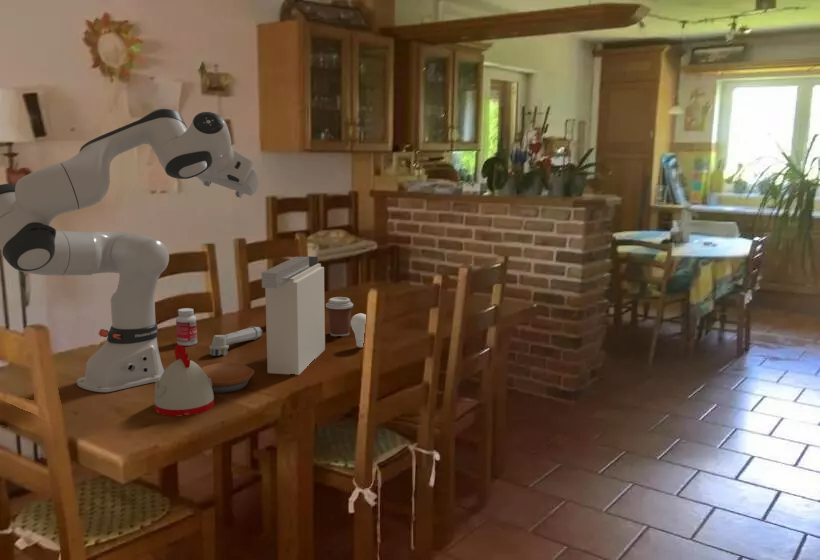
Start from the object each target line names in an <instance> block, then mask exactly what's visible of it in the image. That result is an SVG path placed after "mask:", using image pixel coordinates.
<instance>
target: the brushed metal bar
mask: <svg viewBox="0 0 820 560" xmlns="http://www.w3.org/2000/svg"><path fill="white" fill-rule="evenodd" d="M308 268H309V257H302V256H295V257H293V258H290V259H287V260H285V261H283V262H281V263H279V264H277V265H275V266H273V267H270V268H269V269H268V268H267V270H265V271H262V272H261V288H262V289H265V288H278V287H280V286H282V285H284V284H286V283H287V282H289V281H290V278H292V277H294V276H295V275H297V274H299V273H301V272H303V271H305V270H307V269H308Z"/></svg>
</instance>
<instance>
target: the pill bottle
mask: <svg viewBox="0 0 820 560" xmlns="http://www.w3.org/2000/svg"><path fill="white" fill-rule="evenodd" d="M177 314H178V316H177V318H176V319H175V324H176V325H175V328H176V343H177V345H180V346H183V347H185V346H187V347H188V346H194V345H196V344H197V343H198V329H197V326H198V325H197V317H196V315H194V308H189V307H186V308H185V307H184V308H179V309H177Z"/></svg>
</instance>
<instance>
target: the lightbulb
mask: <svg viewBox="0 0 820 560" xmlns="http://www.w3.org/2000/svg"><path fill="white" fill-rule="evenodd" d="M366 315H367V314H365V313H361V312H360V313H359V312H358V313H357V314H355V315H353V316H352V317H351V318H350V327H351V329H352V331H353V334H354V337H355V338H354V339H355V343H356V344H355V345H356V346H357V347H358V348H360V349H361V348H363V347H364V346H363V343H364V333H365V324H366Z"/></svg>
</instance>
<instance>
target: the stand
mask: <svg viewBox="0 0 820 560" xmlns="http://www.w3.org/2000/svg"><path fill="white" fill-rule="evenodd" d="M301 257H309V268H308V269H307V270H305V271H303V272H301V273H299V274H297V275H295V276H294V277H292V278H290V281H289V282H287V283H286V284H284V285H282V286H280V287H278V288H264V289H265V322H266V323H265V324H266V326H265V327H266V328H265V330H266V360H267V362H266V364H267V374H277V375H290V374H295V375H294V376H300V375H301V374H302V372H303V371H305V369H307V368H308V367H309V366H310V365H311V364H312V363H313V362H314V361H315V360H316V359H317V358H318V357H319V356H320V355H321V354H322V353H323V352H324V351H325V350H326V333H325V332H326V329H325V328H326V324H325V323H326V320H325V319H326V317H325V310H326V309H325V267H324V266H322V263H319V257H318V256H309V255H308V256H306V255H304V256H303V255H302V256H301ZM314 359H315V360H314ZM313 360H314V361H313ZM312 361H313V362H312ZM311 362H312V363H311ZM310 363H311V364H310ZM309 364H310V365H309ZM307 366H308V367H307Z"/></svg>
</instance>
